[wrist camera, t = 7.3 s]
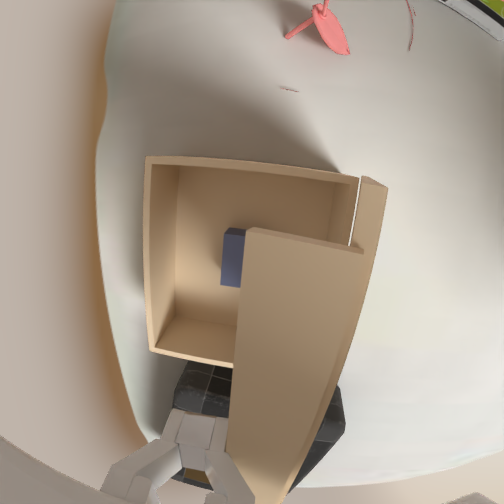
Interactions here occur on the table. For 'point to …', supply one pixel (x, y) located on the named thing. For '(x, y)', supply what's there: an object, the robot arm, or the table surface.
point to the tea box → (482, 14)
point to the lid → (294, 341)
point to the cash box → (217, 404)
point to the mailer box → (211, 239)
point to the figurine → (327, 28)
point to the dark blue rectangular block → (232, 257)
